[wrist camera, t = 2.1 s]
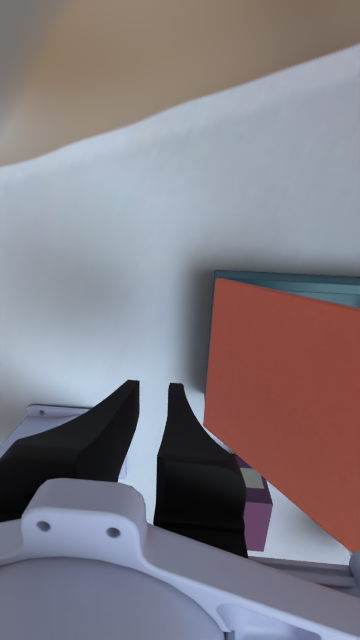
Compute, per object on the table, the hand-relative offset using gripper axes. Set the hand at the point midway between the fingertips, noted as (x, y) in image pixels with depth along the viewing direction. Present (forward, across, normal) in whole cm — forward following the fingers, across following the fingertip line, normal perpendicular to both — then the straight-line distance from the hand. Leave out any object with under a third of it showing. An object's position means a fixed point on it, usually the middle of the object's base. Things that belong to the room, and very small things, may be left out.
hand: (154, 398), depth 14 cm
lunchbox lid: (0, -8, 0) cm, 8 cm away
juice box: (+9, -7, +15) cm, 19 cm away
